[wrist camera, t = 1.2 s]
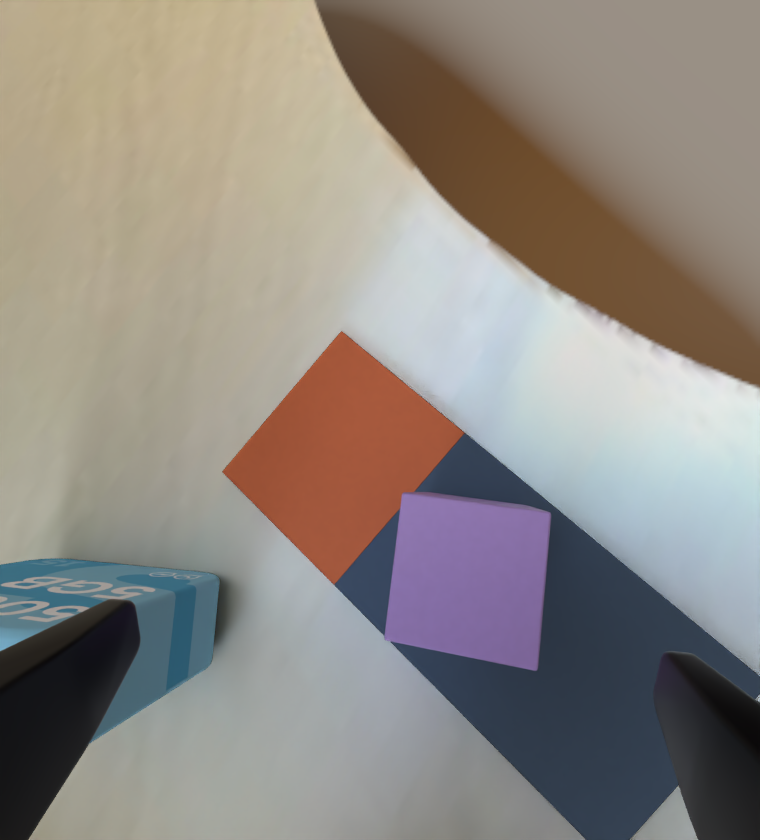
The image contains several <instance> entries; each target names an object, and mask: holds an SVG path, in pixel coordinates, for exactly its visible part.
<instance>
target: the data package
mask: <svg viewBox="0 0 760 840" xmlns="http://www.w3.org/2000/svg"><path fill="white" fill-rule="evenodd" d="M219 582H220V581H219V578H218V577H217V576H216V575H214V574H211V573H205V572H196V571H185V570H175V569H165V568H155V567H145V566H135V565H124V564H114V563H104V562H94V561H84V560H73V559H38V560H29V561H23V562H16V563H9V564H3V565H0V651H2V650H4V649H6V648H8V647H10V646H12V645H14V644H16V643H18V642H20V641H22V640H24V639H27V638H29V637H31V636H33V635H35V634H37V633H39V632H41V631H43V630H45V629H47V628H49V627H52V626H54V625H56V624H58V623H60V622H62V621H64V620H66V619H68V618H70V617H72V616H74V615H77V614H79V613H81V612H83V611H85V610H87V609H89V608H91V607H93V606H95V605H97V604H99V603H102V602H104V601H106V600H108V599H122V600H130V601H132V602H133V603H134V604H135V606H136V611H137V618H138V624H139V630H140V636H141V641H140V647H139V650H138V653H137V655H136V657H135V659H134V660H133V662H132V664H131V666H130V668H129V670H128V672H127V674H126V676H125V678H124V680H123V681H122V683H121V685H120V687H119V689H118V691H117V693H116V695H115V697H114V699H113V701H112V703H111V704H110V706H109V708H108V710H107V712H106V714H105V716H104V718H103V720H102V722H101V724H100V725H99V727H98V729H97V731H96V733H95V734H94V736H93V738H92V740H91V741H90V743H91V742H92V741H94V740H96V739H97V738H99V737H100V736H102V735H103V734H105V733H106V732H108V731H110V730H111V729H113V728H114V727H116V726H117V725H119V724H121V723H122V722H124V721H125V720H127V719H128V718H130V717H131V716H133V715H135V714H136V713H138V712H139V711H141V710H142V709H144V708H146V707H147V706H149V705H150V704H152V703H153V702H155V701H156V700H158V699H160V698H161V697H163V696H164V695H166V694H167V693H169V692H170V691H172V690H174V689H175V688H177V687H178V686H180V685H181V684H183V683H185V682H186V681H188V680H189V679H191V678H192V677H194V676H195V675H197V674H199V673H200V672H202V671H203V670H205V669H206V668H207V667H208V666H209V665H210V664H211V662H212V656H213V645H214V635H215V624H216V614H217V603H218V593H219Z"/></svg>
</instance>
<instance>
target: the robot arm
mask: <svg viewBox="0 0 760 840" xmlns="http://www.w3.org/2000/svg"><path fill="white" fill-rule="evenodd" d="M140 641H141V636H140V630H139V624H138V618H137V611H136V606H135V604H134V603H133V602H132V601H130V600H122V599H108V600H106V601H104V602H102V603H99V604H97V605H95V606H93V607H91V608H89V609H87V610H85V611H83V612H81V613H79V614H77V615H74V616H72V617H70V618H68V619H66V620H64V621H62V622H60V623H58V624H56V625H54V626H52V627H49V628H47V629H45V630H43V631H41V632H39V633H37V634H35V635H33V636H31V637H29V638H27V639H24V640H22V641H20V642H18V643H16V644H14V645H12V646H10V647H8V648H6V649H4V650H2V651H0V840H28V839H29V837H30V836H31V834H32V833H33V831H34V830H35V828H36V826H37V825H38V823H39V822H40V820H41V819H42V817H43V816H44V814H45V812H46V811H47V809H48V808H49V806H50V805H51V803H52V801H53V800H54V798H55V797H56V795H57V794H58V792H59V790H60V789H61V787H62V786H63V784H64V783H65V781H66V779H67V778H68V776H69V775H70V773H71V772H72V770H73V768H74V767H75V765H76V764H77V762H78V761H79V759H80V758H81V756H82V754H83V753H84V751H85V749H86V748H87V746H88V745H89V743H90V741H91V740H92V738H93V736H94V734H95V733H96V731H97V729H98V727H99V725H100V724H101V722H102V720H103V718H104V716H105V714H106V712H107V710H108V708H109V706H110V704H111V703H112V701H113V699H114V697H115V695H116V693H117V691H118V689H119V687H120V685H121V683H122V681H123V680H124V678H125V676H126V674H127V672H128V670H129V668H130V666H131V664H132V662H133V660H134V659H135V657H136V655H137V653H138V650H139V647H140ZM653 698H654V705H655V709H656V713H657V716H658V719H659V722H660V725H661V729H662V732H663V735H664V738H665V742H666V745H667V748H668V751H669V755H670V758H671V761H672V764H673V767H674V771H675V774H676V777H677V780H678V784H679V787H680V790H681V793H682V797H683V800H684V802H685V805H686V808H687V811H688V814H689V817H690V820H691V822H692V825H693V827H694V830H695V833H696V835H697V838H698V840H760V703H759V702H758V701H757V700H755V699H754V698H753V697H751V696H750V695H749V694H747V693H746V692H745V691H743V690H742V689H741V688H739V687H738V686H736V685H735V684H734V683H732V682H731V681H730V680H728V679H727V678H726V677H724V676H723V675H722V674H720V673H719V672H718V671H716V670H715V669H714V668H712V667H711V666H709V665H708V664H707V663H705V662H704V661H703V660H701V659H700V658H699V657H697V656H696V655H694V654H692V653H686V652H675V651H667V652H665V653H663V655H662V657H661V660H660V664H659V669H658V673H657V678H656V682H655V687H654V692H653Z"/></svg>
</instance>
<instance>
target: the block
mask: <svg viewBox="0 0 760 840" xmlns="http://www.w3.org/2000/svg"><path fill="white" fill-rule="evenodd" d="M550 524H551V513H550V512H547V511H544V510H541V509H537V508H534V507H531V506H527V505H522V504H514V503H507V502H499V501H492V500H484V499H477V498H469V497H462V496H454V495H447V494H439V493H432V492H404V493H403V494H402V498H401V506H400V514H399V522H398V531H397V539H396V547H395V555H394V563H393V571H392V579H391V588H390V596H389V604H388V612H387V620H386V628H385V636H384V638H385V640H387V641H392V642H397V643H401V644H406V645H411V646H416V647H421V648H426V649H431V650H436V651H441V652H445V653H450V654H455V655H460V656H465V657H470V658H475V659H480V660H485V661H490V662H494V663H499V664H504V665H509V666H514V667H519V668H524V669H529V670H534V671H536V670H537V669H538V663H539V651H540V639H541V628H542V616H543V605H544V593H545V582H546V570H547V558H548V547H549V535H550Z"/></svg>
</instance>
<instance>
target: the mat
mask: <svg viewBox="0 0 760 840" xmlns="http://www.w3.org/2000/svg"><path fill="white" fill-rule="evenodd" d="M222 472H223V473H224V474H225V475H226V476H227V477H228V478H229V479H230V480H231V481H232V482H233V483H234V484H235V485H236V486H237V487H238V488H239V489H240V490H241V491H242V492H243V493H244V494H245V495H246V496H247V497H248V498H249V499H250V500H251V501H252V502H253V503H254V504H255V505H256V506H257V507H258V508H259V509H260V510H261V511H262V512H263V513H264V514H265V515H266V517H267V518H268V519H269V520H270V521H271V522H272V523H273V524H274V525H275V526H276V527H277V528H278V529H279V530H280V531H281V532H282V533H283V534H284V535H285V536H286V537H287V538H288V539H289V540H290V541H291V542H292V543H293V544H294V545H295V546H296V547H297V548H298V549H299V550H300V551H301V552H302V553H303V554H304V555H305V556H306V557H307V558H308V559H309V560H310V561H311V562H312V563H313V564H314V565H315V566H316V567H317V568H318V569H319V570H320V571H321V572H322V573H323V574H324V575H325V576H326V577H327V578H328V579H329V580H330V581H331V582H332V583H333V584H335V586H336V587H337V588H338V589H339V590H340V591H341V592H342V593H343V594H344V595H345V596H346V597H347V598H348V599H349V600H350V601H351V602H352V603H353V604H354V605H355V606H356V607H357V608H358V609H359V610H360V611H361V613H362V614H363V615H364V616H365V617H366V618H367V619H368V620H369V621H370V622H371V623H372V624H373V625H374V626H375V627H376V628H377V629H378V630H379V631H380V632H381V633H382V634H383V635H384V636H385V628H386V620H387V612H388V604H389V596H390V588H391V579H392V571H393V563H394V555H395V547H396V539H397V531H398V522H399V514H400V506H401V498H402V494H403V493H404V492H432V493H439V494H447V495H454V496H462V497H469V498H477V499H484V500H492V501H499V502H507V503H514V504H522V505H527V506H531V507H534V508H537V509H541V510H544V511H547V512H550V513H551V524H550V535H549V547H548V558H547V570H546V582H545V593H544V605H543V616H542V628H541V639H540V651H539V663H538V669H537V670H536V671H534V670H529V669H524V668H519V667H514V666H509V665H504V664H499V663H494V662H490V661H485V660H480V659H475V658H470V657H465V656H460V655H455V654H450V653H445V652H441V651H436V650H431V649H426V648H421V647H416V646H411V645H406V644H401V643H397V642H392V641H390V642H391V643H392V644H393V645H394V646H395V647H396V648H397V649H398V650H399V651H400V652H401V653H402V654H403V655H404V656H405V657H406V658H407V659H408V660H409V661H410V662H411V663H412V664H413V665H414V666H415V667H416V668H417V669H418V670H419V671H420V672H421V673H422V674H423V675H424V676H425V677H426V678H427V679H428V680H429V681H430V682H431V683H432V684H433V685H434V686H435V687H436V688H437V689H438V690H439V691H440V692H441V693H442V694H443V695H444V696H445V697H446V698H447V699H448V700H449V701H450V702H451V703H452V704H453V705H454V706H455V707H456V708H457V710H458V711H459V712H460V713H461V714H462V715H463V716H464V717H465V718H466V719H467V720H468V721H469V722H470V723H471V724H472V725H473V726H474V727H475V728H476V729H477V730H478V731H479V732H480V733H481V734H482V735H483V736H484V737H485V738H486V739H487V740H488V741H489V742H490V743H491V744H492V745H493V746H494V747H495V748H496V749H497V750H498V751H499V752H500V753H501V754H502V755H503V756H504V757H505V758H506V759H507V760H508V761H509V762H510V763H511V764H512V765H513V766H514V767H515V768H516V769H517V770H518V771H519V772H520V773H521V774H522V775H523V776H524V777H525V778H526V779H527V780H528V781H529V782H530V783H531V784H532V785H533V786H534V787H535V788H536V789H537V790H538V791H539V792H540V793H541V794H542V795H543V796H544V797H545V798H546V799H547V800H548V801H549V802H550V803H551V804H552V806H553V807H554V808H555V809H556V810H557V811H558V812H559V813H560V814H561V815H562V816H563V817H564V818H565V819H566V820H567V821H568V822H569V823H570V824H571V825H572V826H573V827H574V828H575V829H576V830H577V831H578V832H579V833H580V834H581V835H582V836H583V837H584V838H585V839H586V840H630V839H631V838H632V836H633V835H634V834H635V833H636V832H637V831H638V830H639V829H640V827H641V826H642V825H643V824H644V823H645V822H646V821H647V820H648V818H649V817H650V816H651V815H652V814H653V813H654V812H655V811H656V810H657V808H658V807H659V806H660V805H661V804H662V803H663V802H664V801H665V799H666V798H667V797H668V796H669V795H670V794H671V793H672V792H673V791H674V789H675V788H676V787H677V786H678V785H679V784H678V780H677V777H676V774H675V771H674V767H673V764H672V761H671V758H670V755H669V751H668V748H667V745H666V742H665V738H664V735H663V732H662V729H661V725H660V722H659V719H658V716H657V713H656V709H655V705H654V698H653V692H654V687H655V682H656V678H657V673H658V669H659V664H660V660H661V657H662V655H663V653H665V652H667V651H675V652H686V653H692V654H694V655H696V656H697V657H699V658H700V659H701V660H703V661H704V662H705V663H707V664H708V665H709V666H711V667H712V668H714V669H715V670H716V671H718V672H719V673H720V674H722V675H723V676H724V677H726V678H727V679H728V680H730V681H731V682H732V683H734V684H735V685H736V686H738V687H739V688H741V689H742V690H743V691H745V692H746V693H747V694H749V695H750V696H751V697H753V698H754V699H756V698H757V697H758V695H759V694H760V676H758V675H757V674H756V673H755V672H754V671H752V670H751V669H750V668H749V667H748V666H746V665H745V664H744V663H743V662H742V661H740V660H739V659H738V658H737V657H735V656H734V655H733V654H732V653H731V652H729V651H728V650H727V649H726V648H725V647H723V646H722V645H721V644H720V643H719V642H717V641H716V640H715V639H714V638H712V637H711V636H710V635H709V634H708V633H706V632H705V631H704V630H703V629H702V628H700V627H699V626H698V625H697V624H696V623H694V622H693V621H692V620H691V619H689V618H688V617H687V616H686V615H685V614H683V613H682V612H681V611H680V610H679V609H677V608H676V607H675V606H674V605H672V604H671V603H670V602H669V601H668V600H666V599H665V598H664V597H663V596H662V595H660V594H659V593H658V592H657V591H656V590H654V589H653V588H652V587H651V586H649V585H648V584H647V583H646V582H645V581H643V580H642V579H641V578H640V577H639V576H637V575H636V574H635V573H634V572H633V571H631V570H630V569H629V568H628V567H626V566H625V565H624V564H623V563H622V562H620V561H619V560H618V559H617V558H616V557H614V556H613V555H612V554H611V553H610V552H608V551H607V550H606V549H605V548H603V547H602V546H601V545H600V544H599V543H597V542H596V541H595V540H594V539H593V538H591V537H590V536H589V535H588V534H587V533H585V532H584V531H583V530H582V529H580V528H579V527H578V526H577V525H576V524H574V523H573V522H572V521H571V520H570V519H568V518H567V517H566V516H565V515H563V514H562V513H561V512H560V511H559V510H557V509H556V508H555V507H554V506H553V505H551V504H550V503H549V502H548V501H547V500H545V499H544V498H543V497H542V496H540V495H539V494H538V493H537V492H536V491H534V490H533V489H532V488H531V487H530V486H528V485H527V484H526V483H525V482H524V481H522V480H521V479H520V478H519V477H517V476H516V475H515V474H514V473H513V472H511V471H510V470H509V469H508V468H507V467H505V466H504V465H503V464H502V463H501V462H499V461H498V460H497V459H496V458H494V457H493V456H492V455H491V454H490V453H488V452H487V451H486V450H485V449H484V448H482V447H481V446H480V445H479V444H478V443H476V442H475V441H474V440H473V439H471V438H470V437H469V436H468V435H467V434H465V433H464V432H463V431H462V430H461V429H459V428H458V427H457V426H456V425H455V424H453V423H452V422H451V421H450V420H448V419H447V418H446V417H445V416H444V415H442V414H441V413H440V412H439V411H438V410H436V409H435V408H434V407H433V406H431V405H430V404H429V403H428V402H427V401H425V400H424V399H423V398H422V397H421V396H419V395H418V394H417V393H416V392H415V391H413V390H412V389H411V388H410V387H408V386H407V385H406V384H405V383H404V382H402V381H401V380H400V379H399V378H398V377H396V376H395V375H394V374H393V373H392V372H390V371H389V370H388V369H387V368H385V367H384V366H383V365H382V364H381V363H379V362H378V361H377V360H376V359H375V358H373V357H372V356H371V355H370V354H369V353H367V352H366V351H365V350H364V349H362V348H361V347H360V346H359V345H358V344H356V343H355V342H354V341H353V340H352V339H350V338H349V337H348V336H347V335H346V334H344V333H343V332H342V331H341V332H340V333H339V334H338V336H337V337H336V338H335V339H334V340H333V342H332V343H331V344H330V345H329V346H328V347H327V349H326V350H325V351H324V352H323V353H322V355H321V356H320V357H319V358H318V359H317V360H316V362H315V363H314V364H313V365H312V366H311V368H310V369H309V370H308V371H307V372H306V373H305V375H304V376H303V377H302V378H301V379H300V381H299V382H298V383H297V384H296V385H295V386H294V388H293V389H292V390H291V391H290V392H289V393H288V395H287V396H286V397H285V398H284V399H283V401H282V402H281V403H280V404H279V405H278V406H277V408H276V409H275V410H274V411H273V412H272V414H271V415H270V416H269V417H268V418H267V419H266V421H265V422H264V423H263V424H262V425H261V427H260V428H259V429H258V430H257V431H256V432H255V434H254V435H253V436H252V437H251V438H250V439H249V441H248V442H247V443H246V444H245V445H244V447H243V448H242V449H241V450H240V451H239V452H238V454H237V455H236V456H235V457H234V458H233V460H232V461H231V462H230V463H229V464H228V465H227V467H226V468H225V469H224V470H223V471H222Z"/></svg>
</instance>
